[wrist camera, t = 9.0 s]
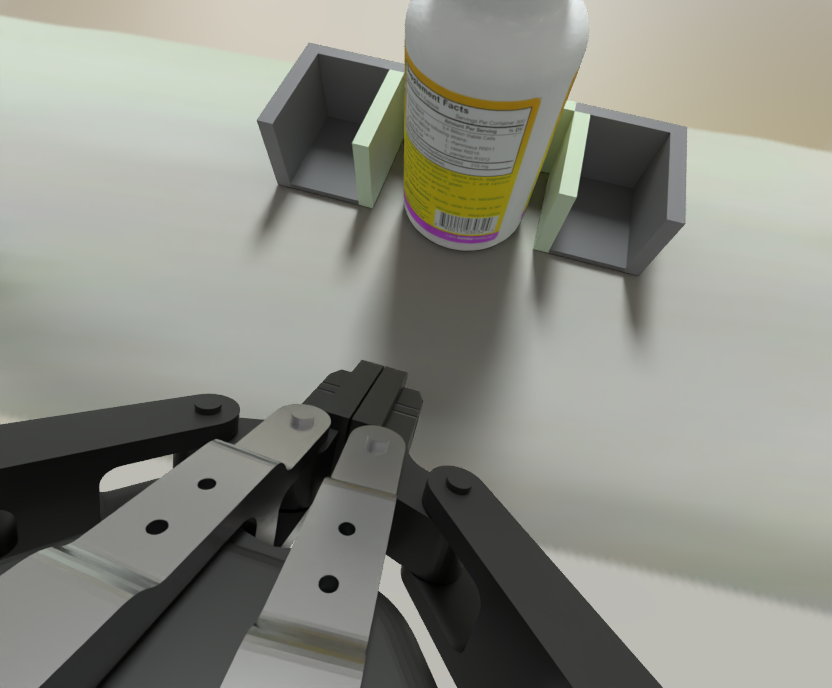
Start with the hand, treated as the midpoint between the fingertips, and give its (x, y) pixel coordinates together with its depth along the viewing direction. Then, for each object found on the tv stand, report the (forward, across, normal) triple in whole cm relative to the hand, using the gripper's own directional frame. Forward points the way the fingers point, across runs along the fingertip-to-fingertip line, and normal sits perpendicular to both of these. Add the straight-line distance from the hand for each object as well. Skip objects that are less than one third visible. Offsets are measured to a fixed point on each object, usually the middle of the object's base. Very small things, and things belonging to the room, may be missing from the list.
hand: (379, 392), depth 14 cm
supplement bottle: (+13, 0, -6) cm, 14 cm away
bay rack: (+14, 0, -7) cm, 16 cm away
